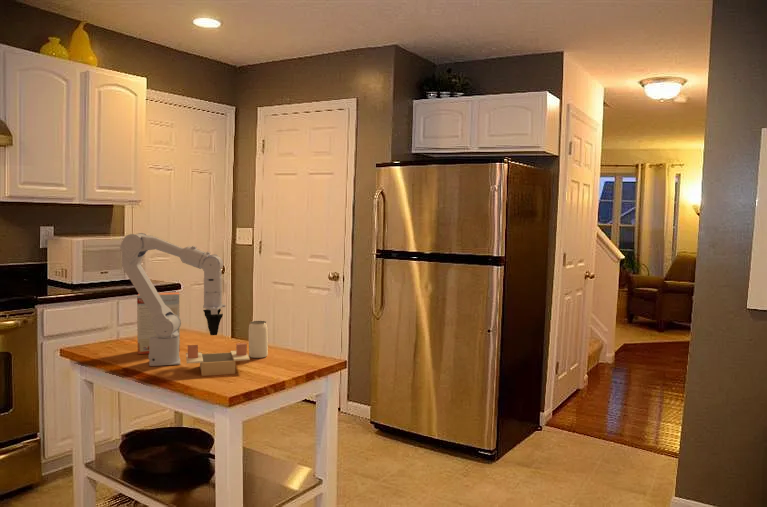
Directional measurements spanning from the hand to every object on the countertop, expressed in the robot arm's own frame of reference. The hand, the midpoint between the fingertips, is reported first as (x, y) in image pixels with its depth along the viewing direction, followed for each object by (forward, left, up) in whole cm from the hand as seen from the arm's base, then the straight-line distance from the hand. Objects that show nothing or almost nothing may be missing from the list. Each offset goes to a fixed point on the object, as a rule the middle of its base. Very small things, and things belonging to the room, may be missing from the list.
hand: (212, 332), depth 201 cm
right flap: (+8, -9, -6) cm, 13 cm away
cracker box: (-17, +21, -10) cm, 29 cm away
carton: (+1, -9, -10) cm, 14 cm away
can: (+16, +6, -10) cm, 20 cm away
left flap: (-6, -9, -6) cm, 12 cm away
